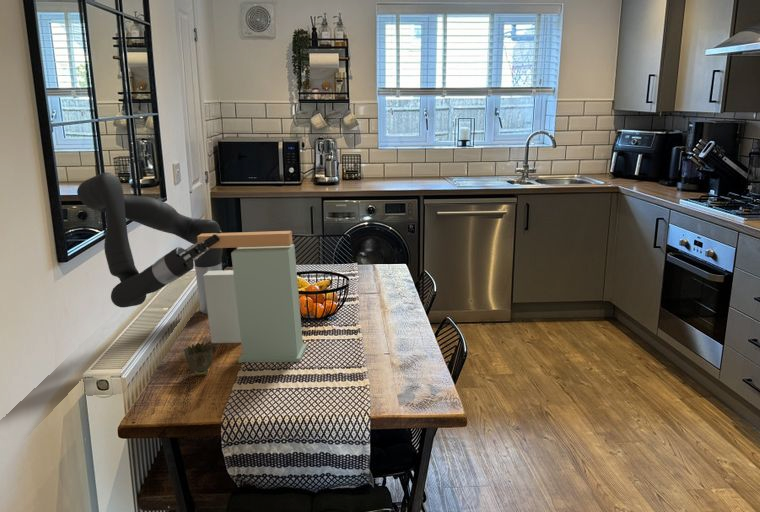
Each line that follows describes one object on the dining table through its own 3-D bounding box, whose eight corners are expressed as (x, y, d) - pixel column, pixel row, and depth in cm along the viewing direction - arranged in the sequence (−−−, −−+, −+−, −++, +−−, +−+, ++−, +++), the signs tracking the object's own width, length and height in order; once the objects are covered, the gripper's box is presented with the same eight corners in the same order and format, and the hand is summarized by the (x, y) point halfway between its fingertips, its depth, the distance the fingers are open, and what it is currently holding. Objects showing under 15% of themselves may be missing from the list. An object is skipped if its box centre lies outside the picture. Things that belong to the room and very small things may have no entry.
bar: (202, 245, 176) (201, 233, 175) (292, 242, 174) (291, 230, 173) (198, 248, 172) (197, 236, 172) (290, 245, 170) (288, 233, 169)
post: (216, 337, 197) (208, 270, 191) (247, 336, 196) (240, 269, 190) (211, 343, 192) (203, 275, 186) (242, 342, 191) (235, 274, 186)
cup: (220, 370, 172) (217, 343, 170) (205, 381, 165) (201, 354, 163) (198, 367, 174) (194, 341, 172) (182, 378, 168) (178, 351, 166)
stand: (248, 347, 187) (237, 244, 179) (307, 346, 185) (298, 243, 178) (238, 362, 176) (225, 254, 168) (300, 361, 175) (290, 252, 167)
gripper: (154, 261, 169) (203, 229, 165) (174, 249, 182) (220, 218, 179) (170, 284, 170) (220, 252, 167) (189, 269, 184) (235, 240, 180)
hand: (219, 235), depth 173 cm, fingers closed on bar, 3 cm apart
